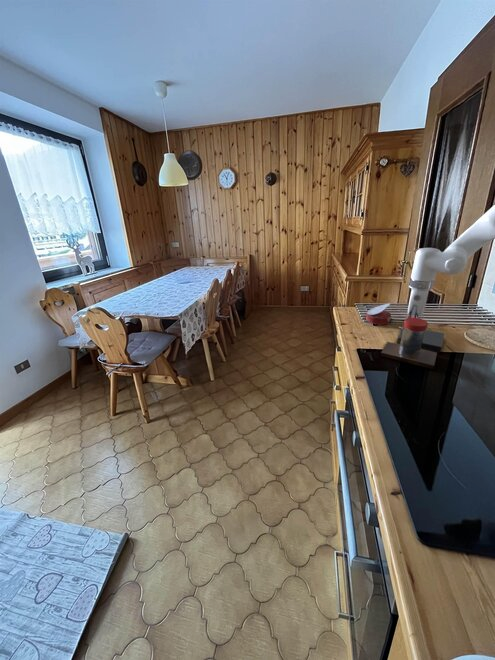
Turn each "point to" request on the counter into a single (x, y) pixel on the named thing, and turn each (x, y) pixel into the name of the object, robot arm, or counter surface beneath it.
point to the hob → (429, 340)
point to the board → (422, 360)
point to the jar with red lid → (412, 337)
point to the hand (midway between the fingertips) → (411, 328)
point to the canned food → (378, 315)
